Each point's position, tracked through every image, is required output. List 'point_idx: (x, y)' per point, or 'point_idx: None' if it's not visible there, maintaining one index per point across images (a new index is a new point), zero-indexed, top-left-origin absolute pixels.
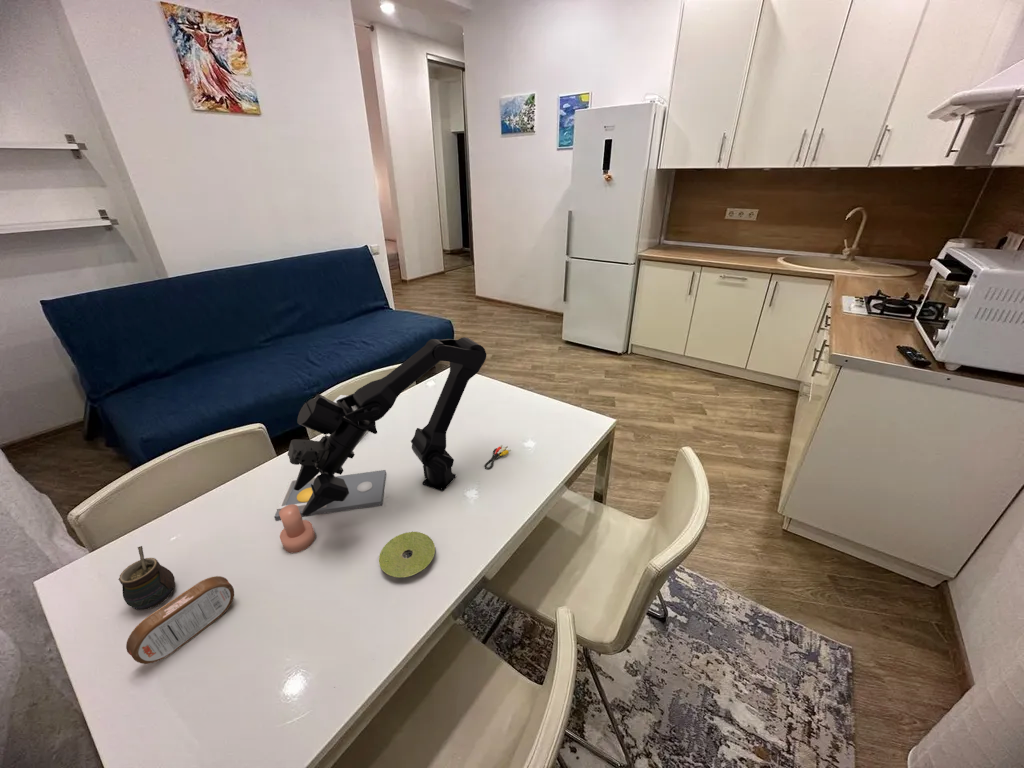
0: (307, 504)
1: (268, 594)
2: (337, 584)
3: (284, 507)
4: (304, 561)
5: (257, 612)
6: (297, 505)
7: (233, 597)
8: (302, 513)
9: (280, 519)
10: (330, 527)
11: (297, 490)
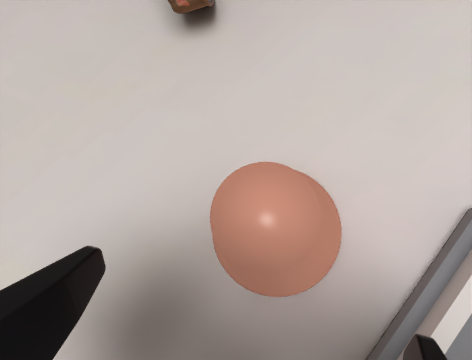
0: (3, 302)
1: (151, 94)
2: (28, 239)
3: (312, 207)
4: (178, 207)
5: (123, 62)
6: (456, 308)
7: (173, 10)
8: (81, 249)
9: (459, 225)
10: (254, 348)
11: (406, 348)
